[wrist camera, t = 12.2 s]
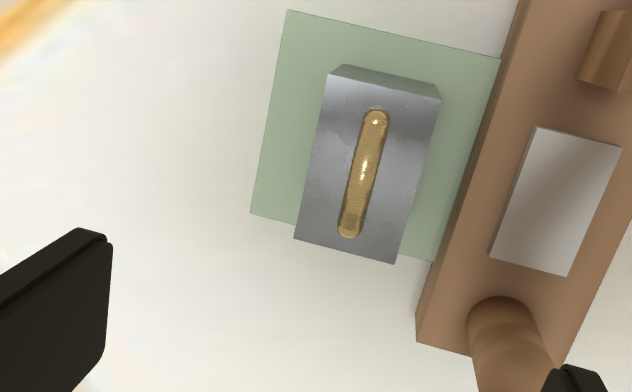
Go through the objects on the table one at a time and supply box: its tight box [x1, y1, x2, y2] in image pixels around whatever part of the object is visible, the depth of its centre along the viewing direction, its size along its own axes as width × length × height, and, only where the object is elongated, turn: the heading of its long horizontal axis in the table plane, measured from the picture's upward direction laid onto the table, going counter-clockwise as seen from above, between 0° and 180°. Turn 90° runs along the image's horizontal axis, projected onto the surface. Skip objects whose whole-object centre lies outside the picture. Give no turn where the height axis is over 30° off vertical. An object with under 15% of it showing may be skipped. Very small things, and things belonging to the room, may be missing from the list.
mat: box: [250, 10, 501, 262], centre depth 29 cm, size 12×12×1 cm
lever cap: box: [294, 63, 442, 265], centre depth 26 cm, size 5×8×7 cm, turn 168°
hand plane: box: [415, 0, 632, 392], centre depth 25 cm, size 8×20×8 cm, turn 168°
